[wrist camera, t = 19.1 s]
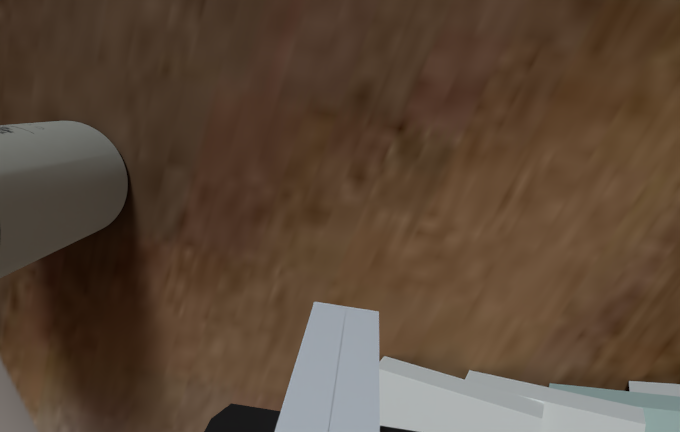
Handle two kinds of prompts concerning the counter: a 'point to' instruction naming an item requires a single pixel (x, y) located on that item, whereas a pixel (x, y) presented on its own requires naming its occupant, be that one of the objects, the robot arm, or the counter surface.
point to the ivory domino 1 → (449, 403)
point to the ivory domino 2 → (570, 407)
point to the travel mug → (55, 188)
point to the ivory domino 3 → (655, 388)
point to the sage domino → (638, 405)
